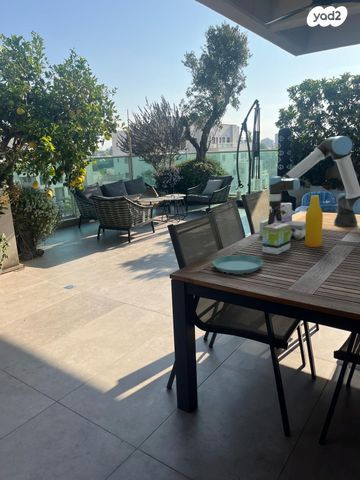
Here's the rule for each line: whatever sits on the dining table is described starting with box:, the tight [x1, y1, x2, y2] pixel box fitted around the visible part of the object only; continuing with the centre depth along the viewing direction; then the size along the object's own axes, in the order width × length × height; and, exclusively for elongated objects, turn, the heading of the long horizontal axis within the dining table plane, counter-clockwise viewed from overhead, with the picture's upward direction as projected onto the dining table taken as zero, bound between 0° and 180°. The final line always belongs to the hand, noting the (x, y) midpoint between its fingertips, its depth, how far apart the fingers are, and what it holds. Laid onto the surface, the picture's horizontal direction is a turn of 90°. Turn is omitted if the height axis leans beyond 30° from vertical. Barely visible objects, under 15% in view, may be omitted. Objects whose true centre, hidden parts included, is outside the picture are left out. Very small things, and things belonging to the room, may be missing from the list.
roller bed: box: [291, 227, 306, 240], centre depth 226 cm, size 13×16×6 cm
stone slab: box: [285, 220, 306, 230], centre depth 225 cm, size 12×14×2 cm
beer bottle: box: [304, 194, 324, 248], centre depth 200 cm, size 9×9×29 cm
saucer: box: [212, 254, 264, 275], centre depth 171 cm, size 24×24×3 cm
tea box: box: [262, 223, 292, 255], centre depth 196 cm, size 15×10×15 cm
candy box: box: [273, 202, 293, 224], centre depth 263 cm, size 14×6×16 cm, turn 84°
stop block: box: [259, 217, 269, 237], centre depth 237 cm, size 3×16×10 cm, turn 144°
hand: (274, 232), depth 234 cm, fingers closed on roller, 12 cm apart
